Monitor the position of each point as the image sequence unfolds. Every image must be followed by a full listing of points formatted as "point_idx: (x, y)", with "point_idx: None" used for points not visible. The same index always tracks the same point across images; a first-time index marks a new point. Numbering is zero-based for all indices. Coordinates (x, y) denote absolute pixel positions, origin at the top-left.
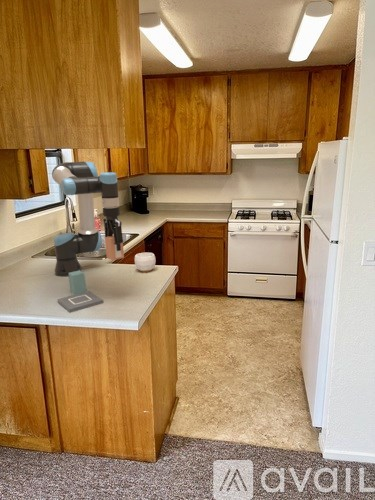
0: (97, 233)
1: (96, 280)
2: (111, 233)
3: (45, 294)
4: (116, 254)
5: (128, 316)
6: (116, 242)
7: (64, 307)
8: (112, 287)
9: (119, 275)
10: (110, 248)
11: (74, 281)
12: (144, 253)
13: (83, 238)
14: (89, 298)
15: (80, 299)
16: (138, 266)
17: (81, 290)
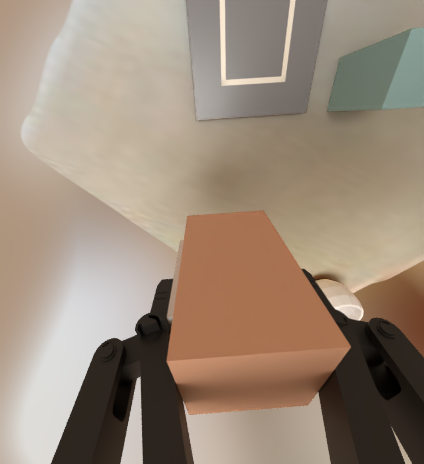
0: None
1: (376, 178)
2: (332, 430)
3: None
4: (177, 256)
5: (61, 139)
6: (139, 343)
7: None
8: (287, 192)
9: (345, 238)
10: (198, 262)
11: (379, 47)
12: None
13: None
14: (239, 80)
15: (254, 40)
16: (324, 285)
17: (337, 89)
